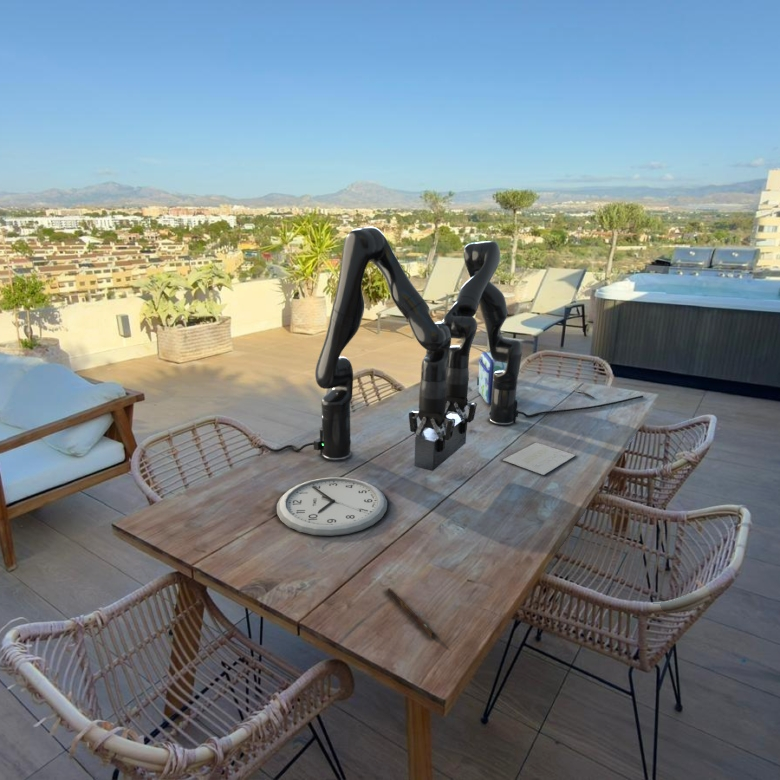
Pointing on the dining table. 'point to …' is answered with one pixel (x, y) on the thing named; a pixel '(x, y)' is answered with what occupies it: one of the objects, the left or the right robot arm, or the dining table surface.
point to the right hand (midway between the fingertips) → (453, 430)
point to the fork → (581, 391)
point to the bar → (428, 445)
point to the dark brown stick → (411, 612)
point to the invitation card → (539, 458)
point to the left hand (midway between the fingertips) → (430, 448)
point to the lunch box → (487, 375)
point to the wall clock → (331, 506)
